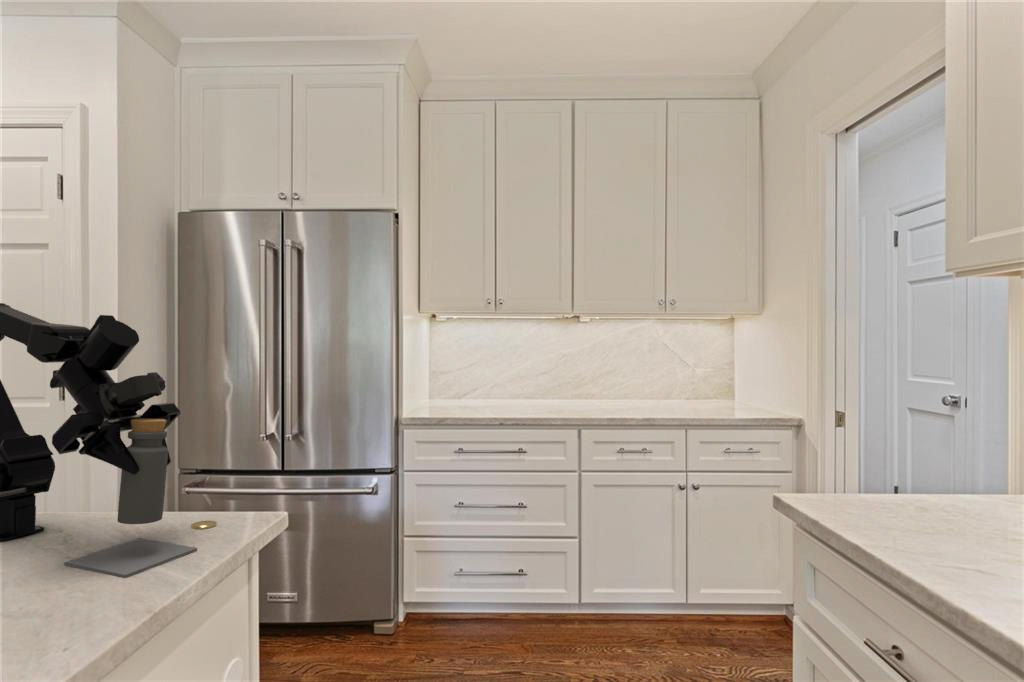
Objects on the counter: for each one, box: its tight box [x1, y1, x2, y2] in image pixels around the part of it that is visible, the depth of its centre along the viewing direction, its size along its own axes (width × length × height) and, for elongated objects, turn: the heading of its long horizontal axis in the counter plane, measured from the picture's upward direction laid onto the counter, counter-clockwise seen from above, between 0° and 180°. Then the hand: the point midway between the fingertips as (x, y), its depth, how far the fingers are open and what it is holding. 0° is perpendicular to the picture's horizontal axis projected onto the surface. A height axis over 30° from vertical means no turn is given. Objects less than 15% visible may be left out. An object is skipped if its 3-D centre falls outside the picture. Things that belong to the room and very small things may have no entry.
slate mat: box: [63, 537, 198, 579], centre depth 92 cm, size 12×12×1 cm
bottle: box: [117, 419, 169, 525], centre depth 93 cm, size 6×6×15 cm
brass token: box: [190, 520, 218, 530], centre depth 108 cm, size 4×4×1 cm
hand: (153, 468), depth 93 cm, fingers closed on bottle, 6 cm apart
